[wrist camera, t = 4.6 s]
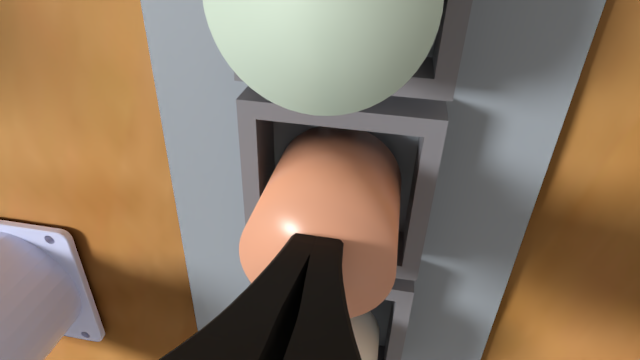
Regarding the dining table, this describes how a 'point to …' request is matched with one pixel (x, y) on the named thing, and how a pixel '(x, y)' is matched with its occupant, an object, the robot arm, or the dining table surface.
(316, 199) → the button terracotta
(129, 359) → the dining table surface
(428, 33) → the button sage
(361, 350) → the button cream
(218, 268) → the panel
